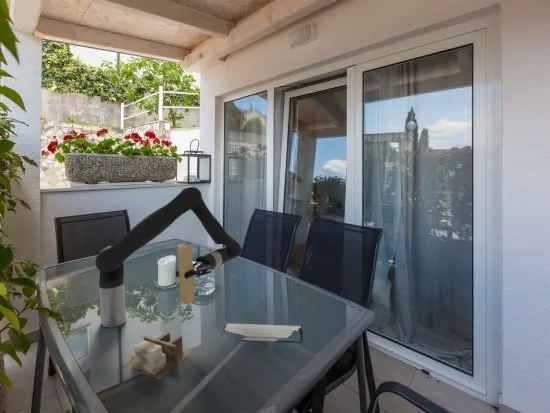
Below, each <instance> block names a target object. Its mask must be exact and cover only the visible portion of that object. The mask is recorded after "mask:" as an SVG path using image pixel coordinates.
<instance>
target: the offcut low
mask: <svg viewBox="0 0 550 413" xmlns="http://www.w3.org/2000/svg"><path fill="white" fill-rule="evenodd" d="M130 356H131V360H132V366H133V367H135V368H138V369H141V370H143V371H146V372H149V373H151V374H154V375H155V374H156V373H157V372H159V371H160V370H161V369H162V368H164V367H165V366H166V354H163V353H162V355H161V356H159V357H158V358H157V359H155V360H154V361H150V360H148V359H145V358H142V357H139V356H136V355H135V352H134V353H132V354H131V355H130Z"/></svg>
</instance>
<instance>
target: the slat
mask: <svg viewBox="0 0 550 413" xmlns="http://www.w3.org/2000/svg"><path fill="white" fill-rule="evenodd" d="M176 248H177V262H178V263H177V265H178V267H177V268H178V270H179V277H178V283H179V284H178V285H179V302H180V304H183V305H189V304H191V303H192V302H194V301H195V282H194V281H195V280H194V277H195V276H191V277H189V278H187V279H185V278H184V273H185V272H188V271H190V270H192V269H193V262H194V260H193V259H194V257H193V245H192V244H188V243H184V244H183V243H182V244H180V245H178V246H177V247H176Z"/></svg>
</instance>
